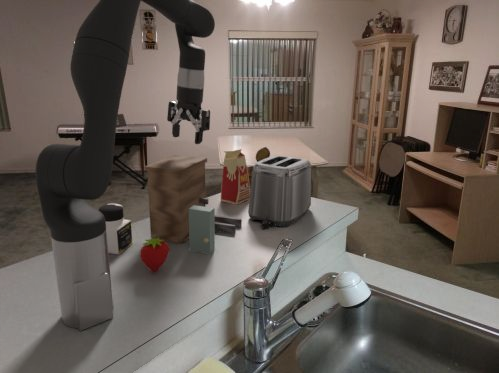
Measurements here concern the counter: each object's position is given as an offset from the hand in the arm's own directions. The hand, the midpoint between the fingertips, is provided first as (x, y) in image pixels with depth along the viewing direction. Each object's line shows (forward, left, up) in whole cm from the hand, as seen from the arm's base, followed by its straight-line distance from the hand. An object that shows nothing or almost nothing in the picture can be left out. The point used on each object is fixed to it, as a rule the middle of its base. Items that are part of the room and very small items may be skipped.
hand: (186, 140), depth 112 cm
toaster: (-14, -27, -27) cm, 41 cm away
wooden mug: (+9, -39, -27) cm, 48 cm away
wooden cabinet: (-8, +2, -27) cm, 28 cm away
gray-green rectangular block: (-19, +8, -27) cm, 34 cm away
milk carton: (+8, -26, -27) cm, 38 cm away
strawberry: (-22, +24, -27) cm, 42 cm away
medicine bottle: (-3, +26, -27) cm, 37 cm away
